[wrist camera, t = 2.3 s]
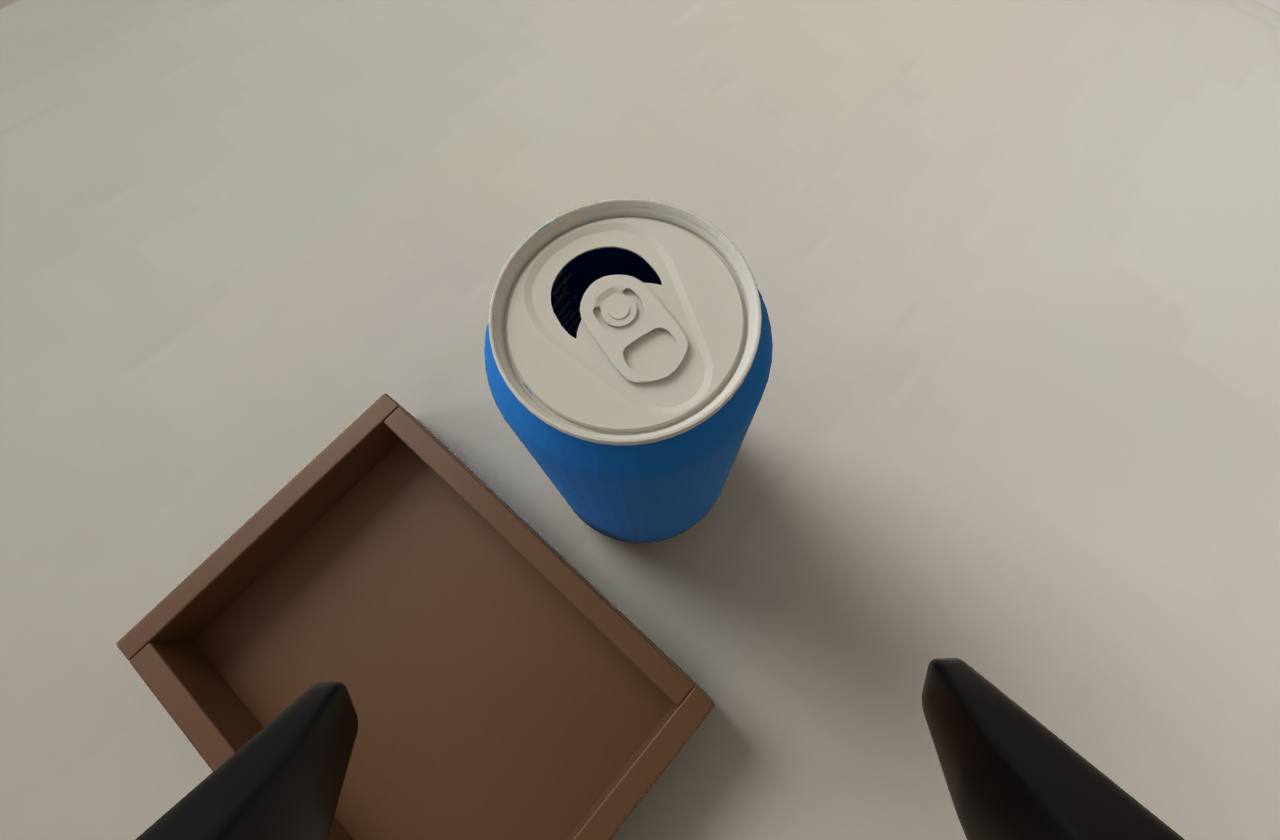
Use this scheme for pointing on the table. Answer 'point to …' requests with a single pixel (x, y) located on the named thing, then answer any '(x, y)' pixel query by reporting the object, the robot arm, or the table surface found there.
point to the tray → (422, 650)
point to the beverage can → (629, 361)
